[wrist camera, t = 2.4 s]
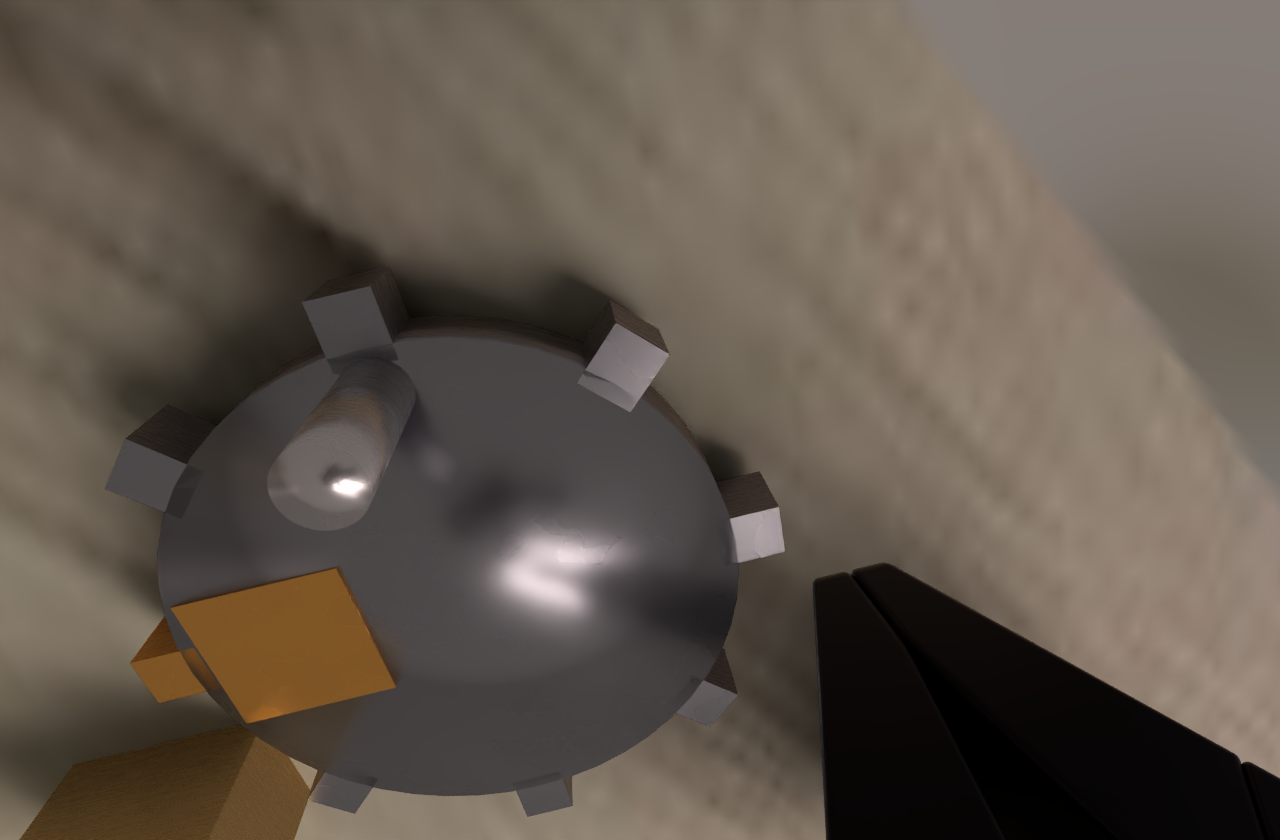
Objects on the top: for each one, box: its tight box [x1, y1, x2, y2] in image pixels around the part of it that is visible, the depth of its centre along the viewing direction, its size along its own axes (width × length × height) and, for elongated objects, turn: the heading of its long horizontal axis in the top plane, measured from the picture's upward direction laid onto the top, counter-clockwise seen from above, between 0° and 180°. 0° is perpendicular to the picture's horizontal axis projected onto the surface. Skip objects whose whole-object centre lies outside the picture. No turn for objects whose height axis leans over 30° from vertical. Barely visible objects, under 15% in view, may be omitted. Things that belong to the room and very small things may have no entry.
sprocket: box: [105, 266, 785, 817], centre depth 16 cm, size 16×16×6 cm
